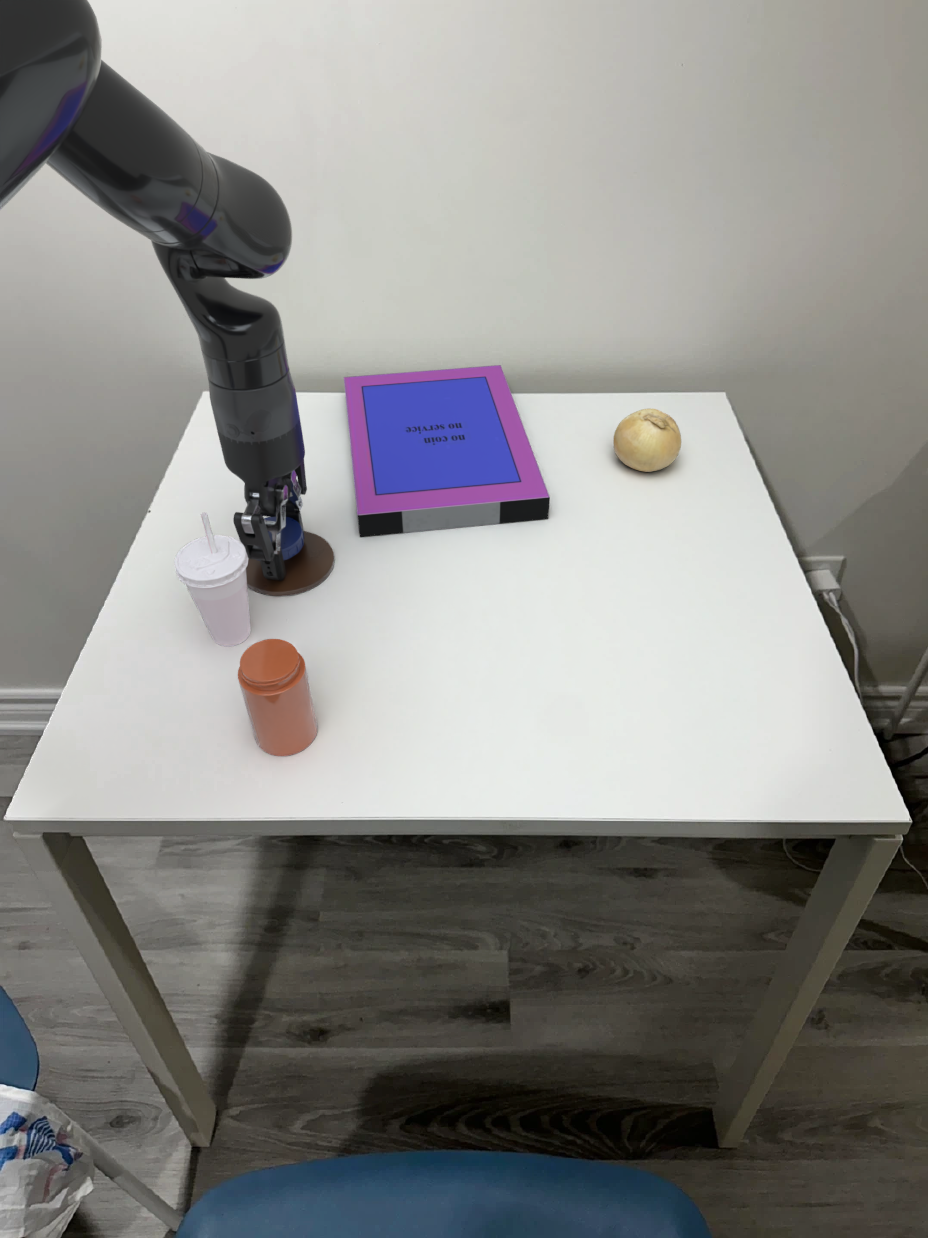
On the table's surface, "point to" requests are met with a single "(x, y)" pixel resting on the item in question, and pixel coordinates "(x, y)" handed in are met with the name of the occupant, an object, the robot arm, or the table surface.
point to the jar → (277, 697)
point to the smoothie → (217, 583)
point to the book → (440, 452)
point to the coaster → (295, 569)
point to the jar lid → (289, 537)
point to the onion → (647, 440)
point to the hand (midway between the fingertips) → (285, 557)
